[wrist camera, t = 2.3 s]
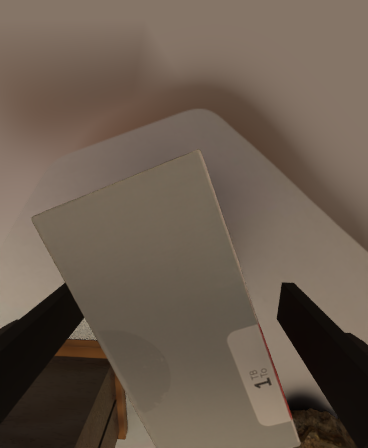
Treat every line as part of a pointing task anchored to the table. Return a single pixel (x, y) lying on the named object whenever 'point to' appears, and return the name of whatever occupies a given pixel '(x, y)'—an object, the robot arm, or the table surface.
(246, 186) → the table surface
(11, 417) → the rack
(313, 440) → the mineral specimen
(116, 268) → the hard drive box
